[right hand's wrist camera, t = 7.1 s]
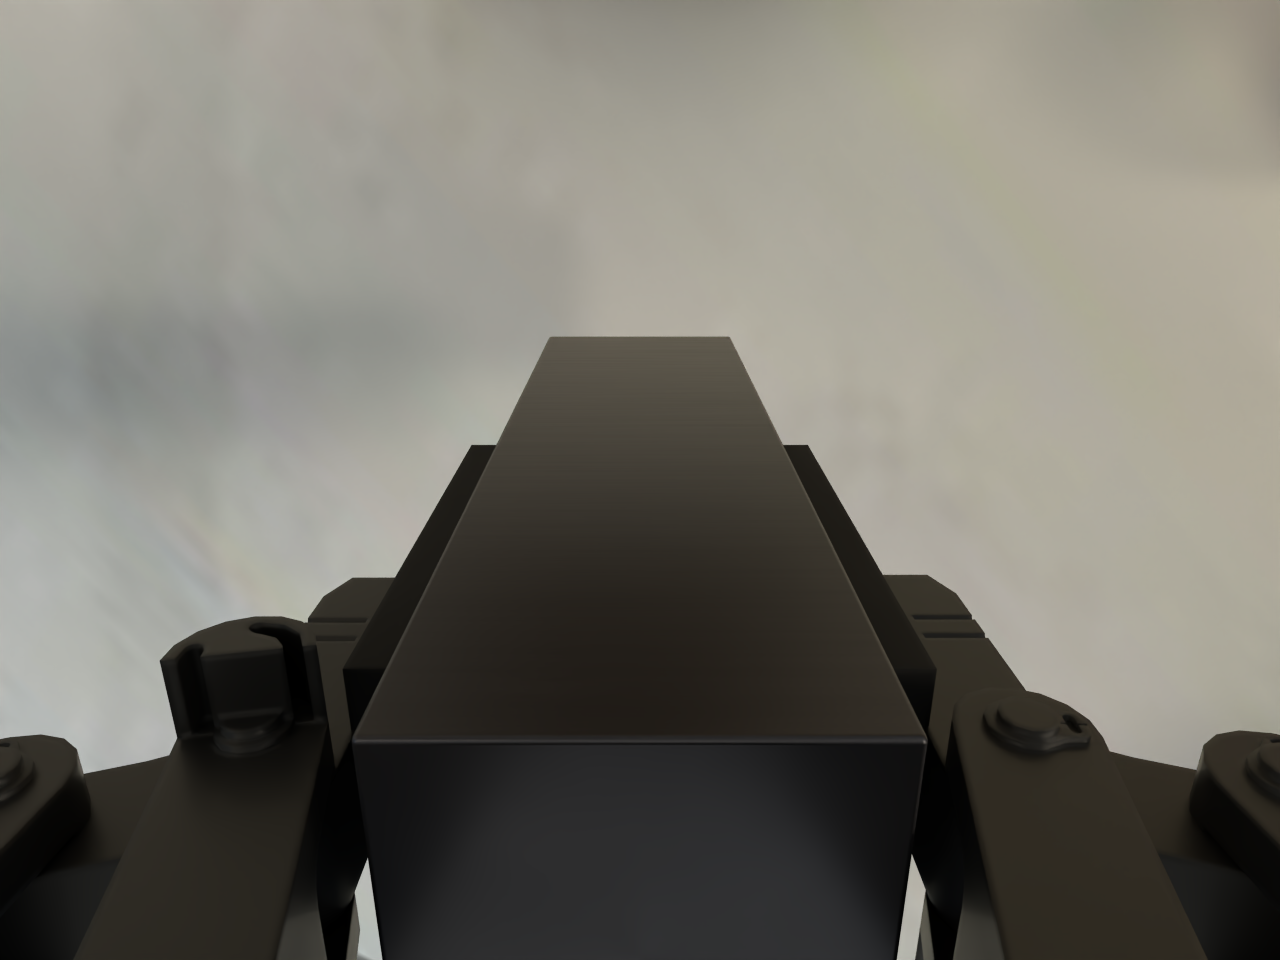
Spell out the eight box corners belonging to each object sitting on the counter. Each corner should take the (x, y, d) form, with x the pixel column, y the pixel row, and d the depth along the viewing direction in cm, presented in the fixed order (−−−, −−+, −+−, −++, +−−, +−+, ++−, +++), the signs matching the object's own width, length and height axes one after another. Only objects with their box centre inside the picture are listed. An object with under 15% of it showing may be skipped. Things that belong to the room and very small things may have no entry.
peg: (730, 336, 19) (932, 738, 6) (724, 504, 20) (875, 1128, 7) (548, 336, 19) (347, 738, 6) (555, 504, 20) (404, 1130, 7)
